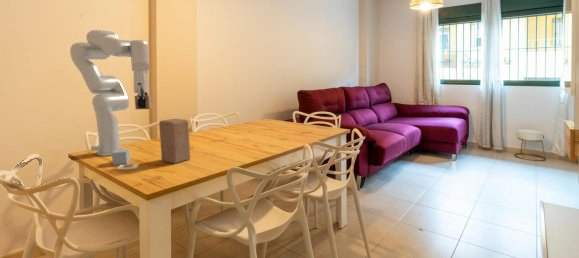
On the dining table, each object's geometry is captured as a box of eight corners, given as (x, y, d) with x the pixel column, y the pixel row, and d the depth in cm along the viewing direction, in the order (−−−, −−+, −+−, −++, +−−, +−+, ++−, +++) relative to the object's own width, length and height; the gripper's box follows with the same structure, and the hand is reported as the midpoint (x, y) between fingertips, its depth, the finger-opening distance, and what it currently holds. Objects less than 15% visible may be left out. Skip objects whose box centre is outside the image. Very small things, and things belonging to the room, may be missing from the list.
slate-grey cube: (113, 165, 151) (111, 152, 150) (116, 161, 157) (115, 149, 156) (126, 164, 152) (125, 152, 151) (130, 160, 158) (129, 149, 157)
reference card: (117, 169, 144) (117, 167, 144) (120, 166, 149) (120, 164, 149) (136, 168, 146) (136, 166, 146) (139, 165, 151) (138, 163, 150)
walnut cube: (135, 109, 149) (134, 96, 148) (138, 107, 155) (137, 95, 153) (149, 109, 150) (148, 96, 149) (152, 107, 156) (151, 95, 155)
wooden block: (174, 164, 152) (171, 122, 148) (161, 161, 157) (158, 120, 154) (191, 159, 160) (189, 119, 157) (177, 156, 166) (175, 118, 162)
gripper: (136, 67, 156) (139, 104, 160) (127, 68, 140) (130, 109, 143) (153, 68, 158) (155, 104, 161) (145, 68, 141) (148, 109, 145)
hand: (143, 106), depth 152 cm, fingers closed on walnut cube, 6 cm apart
